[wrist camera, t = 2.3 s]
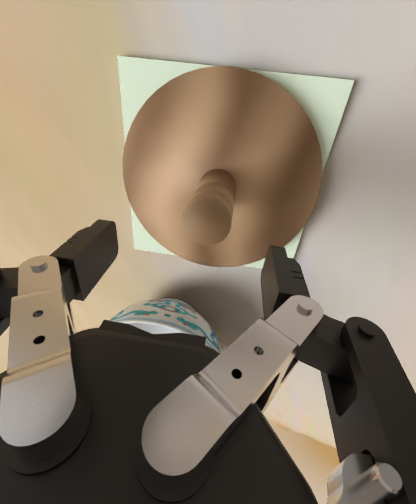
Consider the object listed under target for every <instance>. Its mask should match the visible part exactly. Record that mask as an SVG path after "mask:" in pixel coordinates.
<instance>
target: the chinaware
mask: <svg viewBox="0 0 416 504" xmlns="http://www.w3.org/2000/svg"><path fill="white" fill-rule="evenodd" d="M109 321H114V322H120V323H126V324H130V325H132V326H135V327H137V328H139V329H142V330H144V331H147V332H149V333H152V334H164V333H186V334H192V335H198V336H204V337H206V342H205V345H207V346H209V347H211V348H213V349H214V350H216V351H217V352H219V353H220V354H221V353H222V351H221V348H220V345H219V342H218V339H217V337H216V335H215V333H214V331H213V330H212V328H211V327H210V325H209V324H208V323H207V322H206V320H205V319H204V318H203V317H202V316H201V315H199V314H198V313H197V312H196V311H195V310H194V309H193V308H192V307H191V306H190V305H189V304H187V303H185V302H183V301H181V300H178V299H173V298H164V299H160V300H150V301H145V302H141V303H138V304H135V305H133V306H130V307H128V308H126V309H125V310H123V311H121V312H120V313H118V314H117V315H116V316H114V317H113V318H112V319H111V320H109Z"/></svg>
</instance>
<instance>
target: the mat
mask: <svg viewBox="0 0 416 504" xmlns="http://www.w3.org/2000/svg"><path fill="white" fill-rule="evenodd" d="M117 58H118V69H119V80H120V92H121V103H122V115H123V126H124V137H125V142H126V138H127V135H128V132H129V129H130V127H131V124H132V122H133V120H134V118H135V116H136V115H137V113H138V111H139V110H140V108H141V107H142V106H143V104H144V103H145V102H146V100H147V99H148V98H149V97H150V96H151V95H152V94H153V93H154V92H155V91H156V90H157V89H159V88H160V87H161V86H163V85H164V84H166V83H167V82H168V81H170V80H172V79H174V78H176V77H178V76H180V75H182V74H184V73H186V72H190V71H193V70H196V69H199V68H206V67H213V66H212V65H202V64H193V63H183V62H173V61H164V60H154V59H144V58H135V57H125V56H117ZM247 70H250V71H253V72H256V73H258V74H261V75H264V76H265V77H267V78H269V79H271V80H273V81H274V82H276V83H278V84H279V85H280V86H281V87H283V88H284V89H285V90H287V91H288V92H289V93H290V94H291V95H292V96H293V97H294V98H295V99H296V100H297V101H298V103H299V104H300V105H301V106H302V108H303V109H304V111H305V112H306V114H307V115H308V117H309V118H310V120H311V122H312V125H313V127H314V129H315V131H316V134H317V137H318V140H319V144H320V148H321V155H322V174H323V171H324V168H325V165H326V162H327V159H328V156H329V153H330V150H331V147H332V144H333V141H334V139H335V136H336V133H337V130H338V127H339V124H340V121H341V118H342V115H343V112H344V109H345V107H346V104H347V101H348V98H349V95H350V92H351V89H352V86H353V83H354V80H347V79H337V78H328V77H318V76H309V75H299V74H289V73H280V72H270V71H260V70H251V69H247ZM130 206H131V204H130ZM131 217H132V228H133V240H134V249H138V250H145V251H151V252H157V253H164V254H170V255H176V254H174V253H172V252H170V251H169V250H167V249H166V248H165V247H163V246H162V245H160V244H159V243H158V242H157V241H156V240H155V239H154V238H153V237H152V236H151V235H150V234H149V233H148V232H147V231H146V229H145V228H144V227H143V225H142V224H141V223H140V221H139V220H138V218H137V216H136V214H135V213H134V211H133V209H132V206H131ZM304 226H305V225H304ZM303 229H304V227H303V228H302V229H301V230H300V232H299V233H298V234H297V235H296V236H295V237H294V238H293V239H292V240H291V241H290V242H289V243H288V244H287V245H285V246H284V247H285V249H286V253H287V257H288V258H294V255H295V252H296V249H297V246H298V243H299V241H300V238H301V235H302V232H303ZM264 261H265V258H264V259H262V260H259V261H256V262H253V263H250V264H246V265H241V266H248V267H254V268H261V269H262V268H263V265H264Z"/></svg>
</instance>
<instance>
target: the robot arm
mask: <svg viewBox="0 0 416 504" xmlns="http://www.w3.org/2000/svg"><path fill="white" fill-rule="evenodd" d="M117 254H118V240H117V231H116V225H115V222H113V221H107V220H100V219H99V220H97V221H96V222H95V223H94V224H93V225H91V226H90V227H86V228H84V229H82V230H80V231H78V232H77V233H75V234H74V235H73V236H72V238H70V239H68V240H67V242H65V243H64V244H63V245H61V246H60V247H59V248H58V249H57V250H56V251H54V252H53V253H52V254H51V255H50V256H38V257H34V258H31V259H28V260H26V261H25V262H23V263H22V264H21V265H20V266H19V268H0V336H1V334H2V333H3V332H4V331H5V330H6V329H7V328H8V327H9V326H10V331H9V348H8V365H7V370H6V371H5V372H3V373H1V374H0V504H318V503H317V500H316V498H315V496H314V494H313V492H312V490H311V488H310V486H309V485H308V483H307V481H306V480H305V478H304V477H303V475H302V473H301V472H300V470H299V469H298V467H297V466H296V464H295V463H294V461H293V460H292V458H291V456H290V455H289V453H288V452H287V450H286V449H285V447H284V446H283V444H282V443H281V441H280V439H279V438H278V436H277V435H276V433H275V432H274V430H273V429H272V427H271V426H270V424H269V423H268V421H267V419H266V418H265V416H264V415H263V412H264V411H265V410H266V408H267V407H268V405H269V404H270V402H271V401H272V399H273V397H274V396H275V394H276V393H277V391H278V390H279V388H280V387H281V385H282V384H283V383H284V381H285V380H286V379H287V377H288V376H289V375H290V373H291V372H292V371H293V369H294V368H295V367H296V365H297V364H298V363H299V361H301V362H303V363H305V364H307V365H310V366H312V367H314V368H316V369H318V370H320V371H321V376H322V381H323V386H324V390H325V395H326V400H327V405H328V409H329V414H330V419H331V424H332V428H333V433H334V438H335V443H336V447H337V452H338V457H339V461H340V464H339V465H338V466H337V467H336V468H335V469H334V470H333V471H332V472H331V473H330V475H329V478H328V482H327V490H328V499H327V504H416V393H415V391H414V389H413V387H412V385H411V383H410V381H409V380H408V378H407V376H406V374H405V372H404V370H403V368H402V366H401V364H400V362H399V360H398V358H397V356H396V354H395V352H394V350H393V348H392V346H391V344H390V342H389V340H388V338H387V336H386V335H385V333H384V332H383V330H382V329H381V328H380V327H378V326H377V325H376V324H374V323H373V322H371V321H369V320H367V319H364V318H361V317H351V318H349V319H348V320H347V321H346V323H343V322H340V321H338V320H335V319H333V318H330V317H328V316H326V315H324V314H323V310H322V308H321V306H320V305H319V304H318V303H317V302H316V301H314V300H313V299H311V298H310V295H309V292H308V289H307V285H306V282H305V280H304V276H303V274H302V270H301V267H300V265H299V264H298V263H297V261H296V260H295V259H294V258H288V257H287V253H286V249H285V247H279V246H272V245H270V246H269V247H268V250H267V254H266V258H265V261H264V265H263V268H262V273H261V289H262V300H263V311H264V319H263V318H260V319H258V320H257V321H256V322H255V323H254V324H253V325H251V326H250V327H249V328H248V329H247V330H246V331H245V332H244V333H243V334H242V335H240V336H239V337H238V338H237V339H236V340H235V341H234V342H233V343H232V344H231V345H229V346H228V347H227V348H226V349H225V350H224V351H223V352H222V353H221V354H220V353H219V352H217V351H216V350H214V349H213V348H211V347H209V346H207V345H205V342H206V337H204V336H198V335H192V334H186V333H164V334H152V333H149V332H147V331H144V330H142V329H139V328H137V327H135V326H132V325H130V324H126V323H120V322H114V321H108V320H104V321H103V322H102V324H101V326H100V327H99V328H93V329H88V330H84V331H80V332H78V333H76V331H75V325H74V320H73V315H72V309H71V305H70V302H71V301H72V300H73V299H75V300H81V301H84V300H85V298H86V297H87V296H88V294H89V293H90V292H91V290H92V289H93V288H94V286H95V285H96V284H97V282H98V281H99V280H100V278H101V277H102V276H103V274H104V273H105V272H106V270H107V269H108V268H109V267H110V265H111V264H112V263H113V261H114V260H115V259H116V257H117Z"/></svg>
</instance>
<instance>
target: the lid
mask: <svg viewBox="0 0 416 504" xmlns="http://www.w3.org/2000/svg"><path fill="white" fill-rule="evenodd" d="M123 178H124V184H125V189H126V192H127V196H128V199H129V202H130V204H131V206H132V209H133V211H134V213H135V214H136V216H137V218H138V220H139V221H140V223H141V224H142V225H143V227H144V228H145V229H146V231H147V232H148V233H149V234H150V235H151V236H152V237H153V238H154V239H155V240H156V241H157V242H158V243H159V244H160V245H162V246H163V247H165V248H166V249H167V250H169V251H170V252H172V253H174V254H176V255H177V256H179V257H181V258H184V259H186V260H188V261H191V262H194V263H197V264H202V265H207V266H214V267H234V266H241V265H246V264H250V263H253V262H256V261H259V260H262V259H264V258H266V254H267V250H268V247H269V246H270V245H272V246H279V247H284V246H285V245H287V244H288V243H289V242H290V241H291V240H292V239H293V238H294V237H295V236H296V235H297V234H298V233H299V232H300V230H301V229H302V228H303V227H304V225H305V224H306V222H307V221H308V219H309V217H310V215H311V214H312V212H313V209H314V207H315V205H316V202H317V199H318V196H319V192H320V188H321V181H322V155H321V148H320V144H319V140H318V137H317V134H316V131H315V129H314V127H313V125H312V122H311V120H310V118H309V117H308V115H307V114H306V112H305V111H304V109H303V108H302V106H301V105H300V104H299V103H298V101H297V100H296V99H295V98H294V97H293V96H292V95H291V94H290V93H289V92H288V91H287V90H285V89H284V88H283V87H281V86H280V85H279V84H278V83H276V82H274V81H273V80H271V79H269V78H267V77H265V76H264V75H261V74H258V73H256V72H253V71H250V70H247V69H242V68H237V67H229V66H213V67H206V68H199V69H196V70H193V71H190V72H186V73H184V74H182V75H180V76H178V77H176V78H174V79H172V80H170V81H168V82H167V83H166V84H164V85H163V86H161V87H160V88H159V89H157V90H156V91H155V92H154V93H153V94H152V95H151V96H150V97H149V98H148V99H147V100H146V102H145V103H144V104H143V106H142V107H141V108H140V110H139V111H138V113H137V115H136V116H135V118H134V120H133V122H132V124H131V127H130V129H129V132H128V135H127V138H126V142H125V146H124V153H123Z"/></svg>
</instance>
